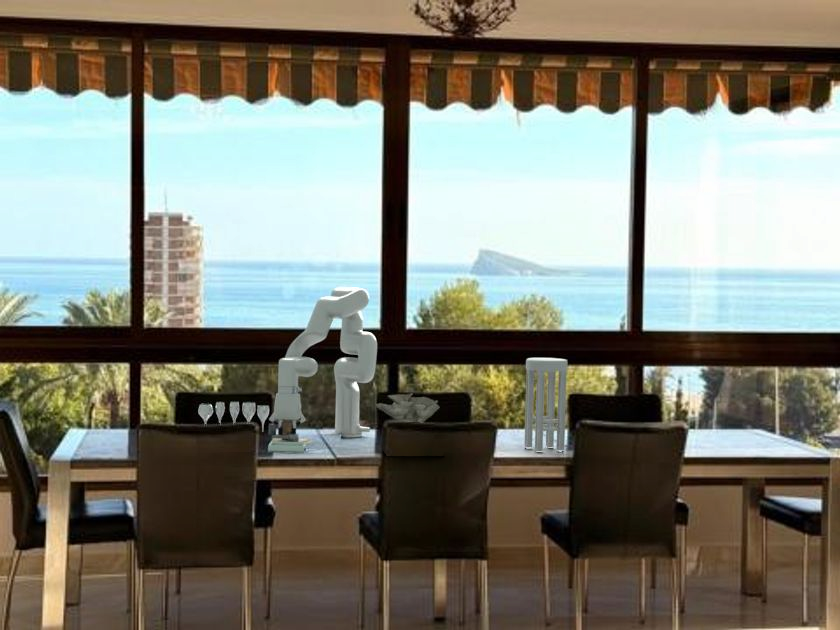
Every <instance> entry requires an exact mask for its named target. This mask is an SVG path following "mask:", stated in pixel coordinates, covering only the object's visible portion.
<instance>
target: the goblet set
mask: <svg viewBox="0 0 840 630" xmlns="http://www.w3.org/2000/svg"><path fill="white" fill-rule="evenodd" d="M241 406H242V409H241V410H242V414H243V416H244V417H245V419H246V421H247V423H248V422H251V420H252V418H253V416H254V415H255V413H256V410H257V413H256V414H257V416H258V418H259V420H260V422H261V429H262V430H261V431H262V433H263V432H264V425H265V421H266V420H267V418H268V416H269V415H270V405H265V404H263V405H261V404H260V405H257V409H256V402H253V401H252V402H251V401H244V402H243V403H242V405H241ZM225 409H226V407H225V402H224V401H216V403H215V413H216V415H217V418H218V423H220V424H221V423H222V422H221V421H222V419H223V418H222V417H223V416H224V413H225ZM197 412H198V415H199V416H200V417H201V418H202V420H203V422H204V425H205V424H206V425H207V422H208V420H209V419H210V417H211V416H212V415H213V413H214V408H213V405H212V404H211V403H200V404H199V406H198V411H197ZM229 412H230V415H231V418H232V421H233V424H234V423H235V424H236V419H237V417H238V415H239V412H240V403H239V401H230V403H229Z"/></svg>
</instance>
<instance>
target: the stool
mask: <svg viewBox="0 0 840 630" xmlns="http://www.w3.org/2000/svg"><path fill="white" fill-rule="evenodd" d="M525 370H526V379H525V380H526V381H525V385H526V387H525V413H524V414H525V415H524V420H525V421H524V446H525V447H532V448H533V434H534V433H533V431H534V429H535V431H534V432H535V434H534V452H535V451H544V449H543V448H544V447H543V446H544V432H545V447H546V446H547V447H553V448H554V444H555V441H554V440H555V439H554V437H555V432H556V447H555V448H556V449H557V450H564V451H565V441H566V438H565V436H566V434H565V433H566V408H567V407H566V405H567V403H566V401H567V374H568V372H567V371H568V359H565V358H556V357H528V358H526V360H525ZM535 371H536V390H535ZM546 372H547V391H546V392H547V394H546V395H547V396H546V416H545V415H544V413H545V412H544V411H545V410H544V409H545V384H546V382H545V381H546ZM557 372H558V388H557V416H556V417H557V418H556V419H555V409H556V408H555V407H556V379H557V378H556V377H557V376H556V373H557ZM535 391H536V393H535ZM534 394H536V396H534ZM534 397H536V398H535V399H536V400H535V416H534ZM534 421H535V424H534ZM555 424H556V427H555Z"/></svg>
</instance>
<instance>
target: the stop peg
mask: <svg viewBox="0 0 840 630" xmlns="http://www.w3.org/2000/svg"><path fill="white" fill-rule="evenodd" d="M292 428H293V422H292V420H282V435H288V434H291V433H292ZM282 440H286V441H288V439H284V438H282Z"/></svg>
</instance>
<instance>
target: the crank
mask: <svg viewBox="0 0 840 630" xmlns="http://www.w3.org/2000/svg"><path fill="white" fill-rule="evenodd" d="M268 435H269V436H271V439H273V438H284V439H288V442H299V439H300V437H299V436H300V435H299V433H296V434H295V433H291V434H288V435H280V434H278V433H277V426H276V424H274V423H268Z"/></svg>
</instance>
